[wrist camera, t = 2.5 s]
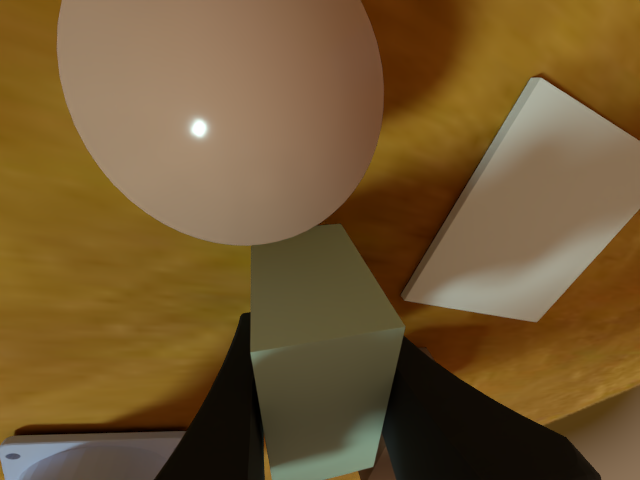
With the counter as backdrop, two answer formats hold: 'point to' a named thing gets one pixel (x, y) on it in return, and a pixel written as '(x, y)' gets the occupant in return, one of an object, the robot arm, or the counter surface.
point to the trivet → (532, 210)
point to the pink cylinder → (225, 108)
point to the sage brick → (320, 354)
